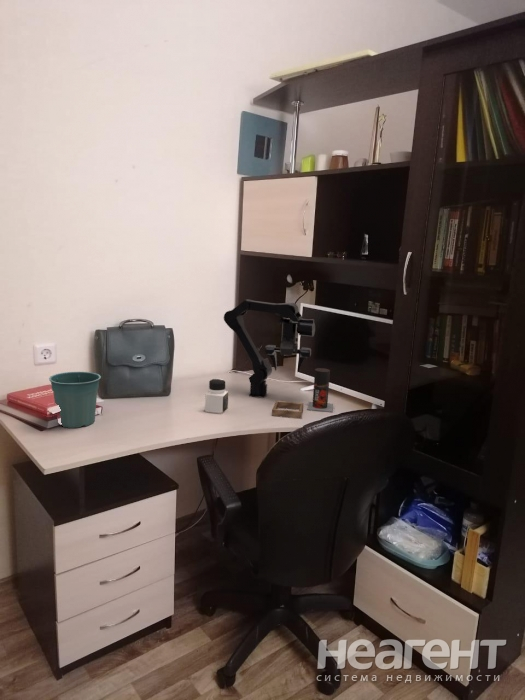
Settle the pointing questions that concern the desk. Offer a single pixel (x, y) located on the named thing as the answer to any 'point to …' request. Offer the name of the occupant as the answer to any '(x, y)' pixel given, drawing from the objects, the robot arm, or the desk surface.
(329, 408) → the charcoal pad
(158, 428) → the desk surface
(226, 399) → the medicine bottle
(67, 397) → the flower pot
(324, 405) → the deodorant
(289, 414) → the walnut collar
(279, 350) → the robot arm
